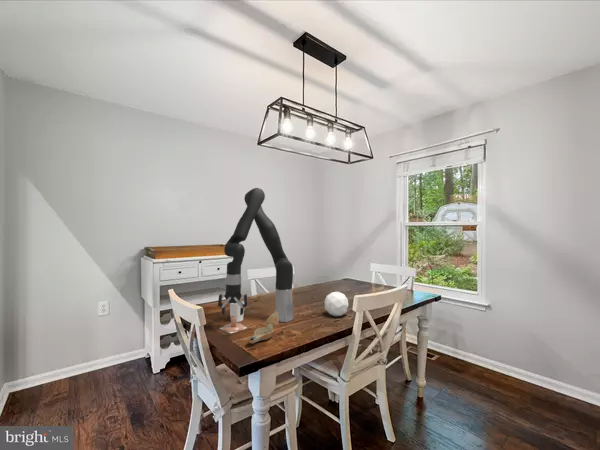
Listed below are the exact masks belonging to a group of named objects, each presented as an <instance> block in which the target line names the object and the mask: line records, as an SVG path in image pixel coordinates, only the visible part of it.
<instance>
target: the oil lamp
mask: <svg viewBox="0 0 600 450" xmlns="http://www.w3.org/2000/svg"><path fill="white" fill-rule="evenodd" d="M264 323H265V324H267V326H263V327H259V328H256V329H255V330H254V332H253V334H254V335H252V336H249V337H248V340H247V341H248V342H249V343H250V344H255V343H257V342H260V341H265V340H266V341H267V340H269V339H271V338H272V337H273V335H274V333H275V330H274V326H278V325H279V321H278V313H277V311H275V310H274V312H273V313H272V314H271V315H269V317H268V318H267V319H266V321H265V322H264Z"/></svg>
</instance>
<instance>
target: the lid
mask: <svg viewBox="0 0 600 450" xmlns="http://www.w3.org/2000/svg"><path fill="white" fill-rule="evenodd" d="M244 325H245V324H243V323H241V322H236V316H230V323H228V324H225V325H223V326H222V327H223V330H222V331H224V332H226V331H228V332H227V333H229V332H234V333H236V332H235V331H237V332H240V331H242V329H243V328H244ZM243 330H244V329H243Z"/></svg>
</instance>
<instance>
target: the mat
mask: <svg viewBox="0 0 600 450" xmlns="http://www.w3.org/2000/svg"><path fill="white" fill-rule="evenodd" d="M223 327H224V326H222V327H219V328H218V329H219V330H222V331H224V330H223ZM245 329H248V327H247V326H244V328H243V329H242V330H243V331H244V330H245ZM242 330H241V331H242ZM225 332H226V333H229V334H233V333H237V332H238V331H235V332H228V331H225Z"/></svg>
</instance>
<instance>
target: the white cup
mask: <svg viewBox="0 0 600 450" xmlns="http://www.w3.org/2000/svg"><path fill="white" fill-rule="evenodd" d="M240 300H241V299H240ZM241 302H242V303H243V304H244V300H241ZM240 308H241V307H240V306H239V305H238V303H229V314H230V317H231V316H236V323H240V322H242V321H244V313H245V311H244V312H243V314H242V315H240Z"/></svg>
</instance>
